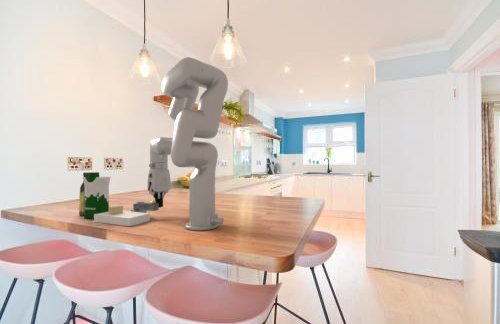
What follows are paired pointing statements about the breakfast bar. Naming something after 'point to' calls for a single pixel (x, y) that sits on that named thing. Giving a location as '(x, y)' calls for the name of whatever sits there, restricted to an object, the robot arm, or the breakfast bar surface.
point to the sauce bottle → (82, 196)
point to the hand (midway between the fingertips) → (159, 207)
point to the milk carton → (96, 194)
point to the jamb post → (139, 211)
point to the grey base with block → (121, 217)
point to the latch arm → (146, 206)
